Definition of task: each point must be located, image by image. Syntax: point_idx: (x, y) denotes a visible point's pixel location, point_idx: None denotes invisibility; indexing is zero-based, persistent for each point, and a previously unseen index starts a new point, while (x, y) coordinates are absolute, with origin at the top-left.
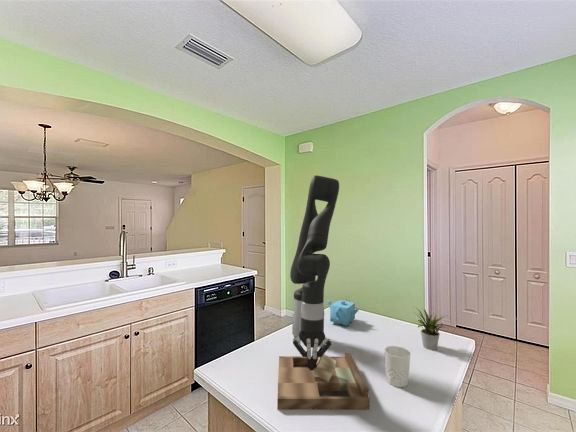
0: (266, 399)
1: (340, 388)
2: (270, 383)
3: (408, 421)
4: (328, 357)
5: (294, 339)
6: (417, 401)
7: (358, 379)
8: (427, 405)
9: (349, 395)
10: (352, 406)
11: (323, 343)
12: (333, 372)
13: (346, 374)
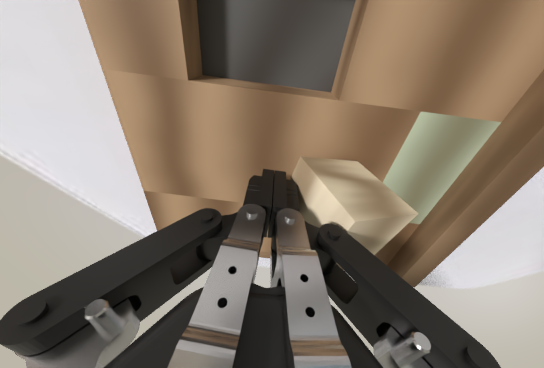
0: (136, 192)
1: None
2: (118, 118)
3: (437, 277)
4: (381, 226)
5: (28, 361)
6: (535, 246)
7: (428, 254)
8: (538, 257)
9: None
10: None
11: (376, 354)
12: (384, 155)
13: (431, 176)
